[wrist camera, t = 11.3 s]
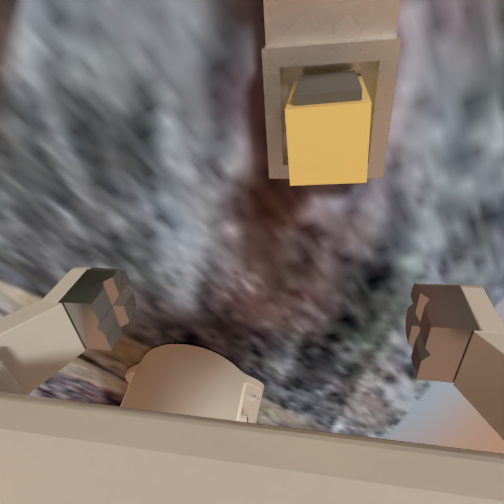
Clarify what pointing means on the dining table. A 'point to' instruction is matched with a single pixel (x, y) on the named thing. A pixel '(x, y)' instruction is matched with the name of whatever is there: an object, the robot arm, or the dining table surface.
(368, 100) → the yellow block grey top
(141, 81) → the dining table surface
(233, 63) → the dining table surface
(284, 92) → the beige base with post
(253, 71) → the dining table surface
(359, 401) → the dining table surface
